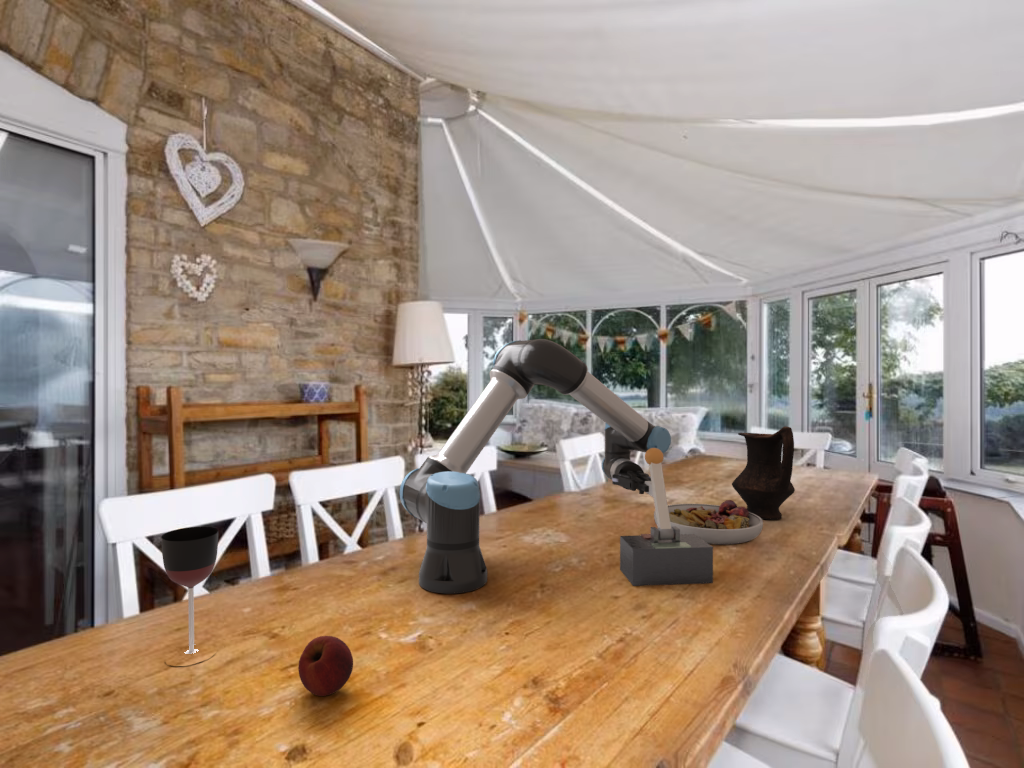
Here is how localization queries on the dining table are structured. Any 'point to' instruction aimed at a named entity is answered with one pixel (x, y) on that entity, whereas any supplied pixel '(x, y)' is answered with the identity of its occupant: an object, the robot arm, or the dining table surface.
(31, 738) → the dining table surface
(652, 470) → the lever
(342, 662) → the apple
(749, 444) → the jug
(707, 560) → the switch box
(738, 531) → the bowl
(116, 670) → the dining table surface
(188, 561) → the wineglass
